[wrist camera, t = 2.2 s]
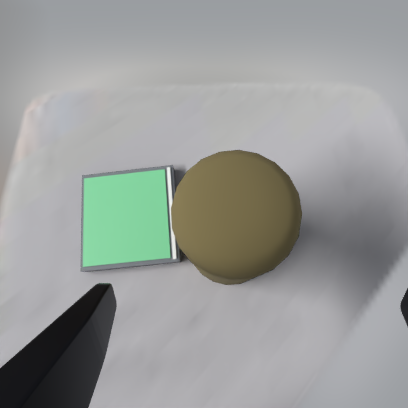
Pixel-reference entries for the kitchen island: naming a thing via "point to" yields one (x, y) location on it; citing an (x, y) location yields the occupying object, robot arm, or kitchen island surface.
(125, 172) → the plate
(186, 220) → the cork
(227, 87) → the kitchen island surface
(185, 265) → the kitchen island surface
